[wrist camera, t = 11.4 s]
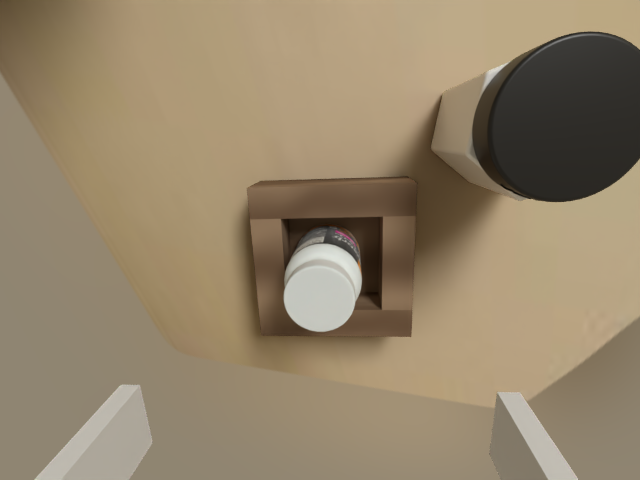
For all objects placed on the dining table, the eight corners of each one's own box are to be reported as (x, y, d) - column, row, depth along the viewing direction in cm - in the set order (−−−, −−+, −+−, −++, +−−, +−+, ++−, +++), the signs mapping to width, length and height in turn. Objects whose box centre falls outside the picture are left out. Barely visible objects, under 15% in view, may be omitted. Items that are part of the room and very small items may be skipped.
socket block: (260, 180, 31) (246, 188, 27) (407, 176, 30) (417, 183, 26) (271, 311, 35) (261, 335, 31) (403, 311, 34) (411, 336, 30)
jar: (444, 194, 30) (502, 228, 19) (415, 101, 29) (460, 78, 17) (550, 154, 29) (684, 166, 17) (527, 54, 27) (660, -7, 16)
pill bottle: (372, 259, 32) (382, 311, 22) (321, 292, 33) (310, 354, 23) (335, 209, 31) (329, 240, 21) (284, 245, 32) (257, 290, 22)
